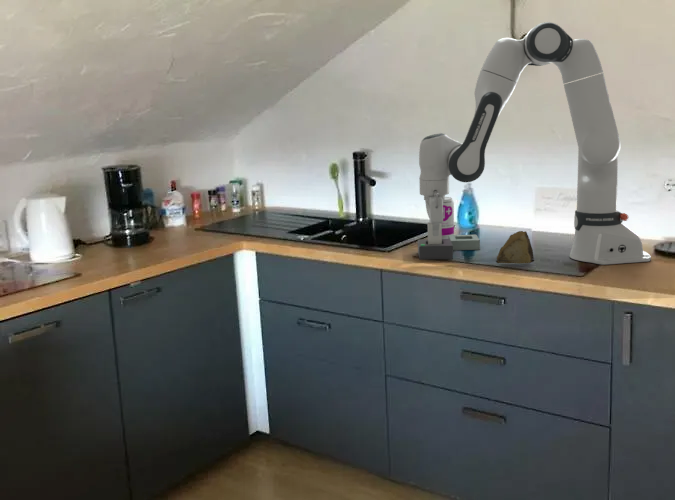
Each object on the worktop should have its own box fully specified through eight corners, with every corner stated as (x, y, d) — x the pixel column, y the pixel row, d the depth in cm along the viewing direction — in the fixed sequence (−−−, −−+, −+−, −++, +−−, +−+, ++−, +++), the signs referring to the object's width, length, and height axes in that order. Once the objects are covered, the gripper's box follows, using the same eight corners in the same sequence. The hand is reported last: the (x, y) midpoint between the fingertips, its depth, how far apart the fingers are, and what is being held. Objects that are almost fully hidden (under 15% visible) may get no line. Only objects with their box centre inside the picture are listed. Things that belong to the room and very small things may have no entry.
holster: (476, 246, 236) (476, 234, 235) (479, 252, 227) (479, 240, 226) (448, 247, 236) (448, 235, 235) (451, 253, 228) (450, 240, 227)
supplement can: (455, 244, 241) (455, 199, 237) (431, 244, 241) (430, 200, 238) (452, 239, 249) (452, 196, 245) (428, 240, 249) (427, 197, 246)
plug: (441, 250, 223) (440, 222, 221) (441, 253, 220) (441, 224, 218) (428, 251, 223) (427, 222, 221) (428, 253, 220) (428, 224, 218)
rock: (489, 257, 210) (522, 256, 205) (493, 231, 213) (525, 229, 208) (502, 272, 218) (535, 271, 212) (506, 247, 221) (538, 245, 216)
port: (449, 254, 226) (449, 237, 225) (452, 261, 216) (452, 244, 215) (417, 255, 227) (417, 238, 226) (419, 262, 217) (419, 245, 216)
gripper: (447, 192, 207) (448, 239, 210) (442, 183, 227) (442, 226, 230) (425, 193, 207) (426, 240, 210) (422, 184, 227) (422, 227, 230)
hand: (434, 233), depth 220 cm, fingers open, 6 cm apart
